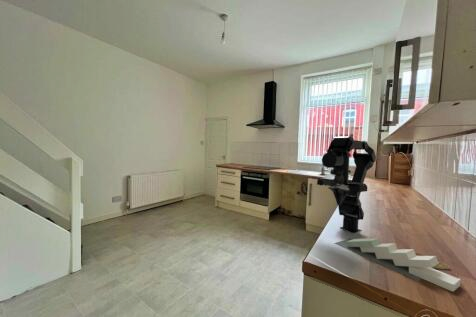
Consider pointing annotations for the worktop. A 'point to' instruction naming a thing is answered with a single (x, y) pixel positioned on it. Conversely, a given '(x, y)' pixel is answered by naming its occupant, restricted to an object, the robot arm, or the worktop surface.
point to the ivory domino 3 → (417, 261)
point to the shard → (439, 265)
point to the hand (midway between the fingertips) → (339, 205)
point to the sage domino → (363, 242)
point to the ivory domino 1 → (380, 248)
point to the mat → (379, 260)
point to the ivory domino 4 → (436, 277)
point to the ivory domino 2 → (397, 254)
